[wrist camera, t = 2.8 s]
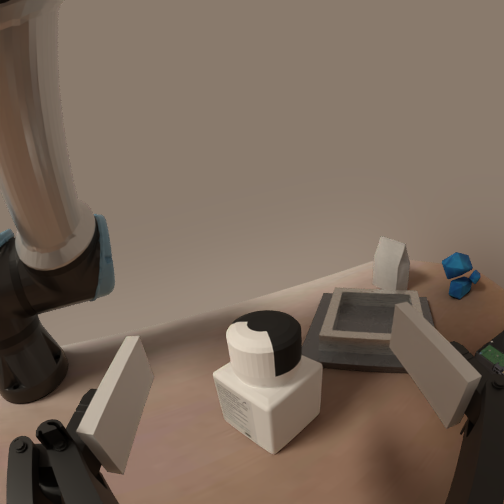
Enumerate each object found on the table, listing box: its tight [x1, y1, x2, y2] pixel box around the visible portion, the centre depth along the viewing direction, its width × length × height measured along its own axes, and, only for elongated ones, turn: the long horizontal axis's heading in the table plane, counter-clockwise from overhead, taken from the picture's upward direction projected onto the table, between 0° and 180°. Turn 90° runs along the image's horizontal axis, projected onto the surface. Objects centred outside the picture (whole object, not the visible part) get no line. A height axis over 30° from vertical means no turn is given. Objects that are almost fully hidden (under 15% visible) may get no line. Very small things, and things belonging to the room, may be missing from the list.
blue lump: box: [442, 252, 480, 299], centre depth 46 cm, size 7×9×12 cm
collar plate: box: [302, 288, 435, 373], centre depth 42 cm, size 20×20×4 cm
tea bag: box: [373, 236, 410, 290], centre depth 53 cm, size 4×7×10 cm, turn 21°
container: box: [213, 310, 323, 454], centre depth 27 cm, size 8×8×13 cm
